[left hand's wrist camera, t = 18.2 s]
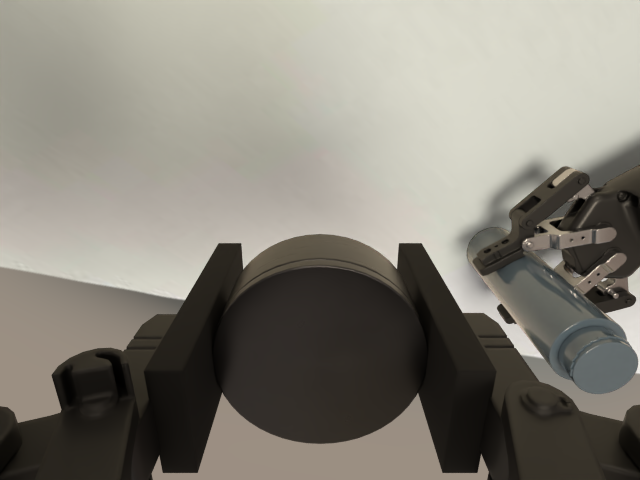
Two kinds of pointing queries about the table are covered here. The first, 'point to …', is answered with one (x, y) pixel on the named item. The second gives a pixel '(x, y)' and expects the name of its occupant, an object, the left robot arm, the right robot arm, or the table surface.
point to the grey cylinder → (560, 320)
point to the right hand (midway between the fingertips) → (490, 292)
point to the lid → (320, 341)
